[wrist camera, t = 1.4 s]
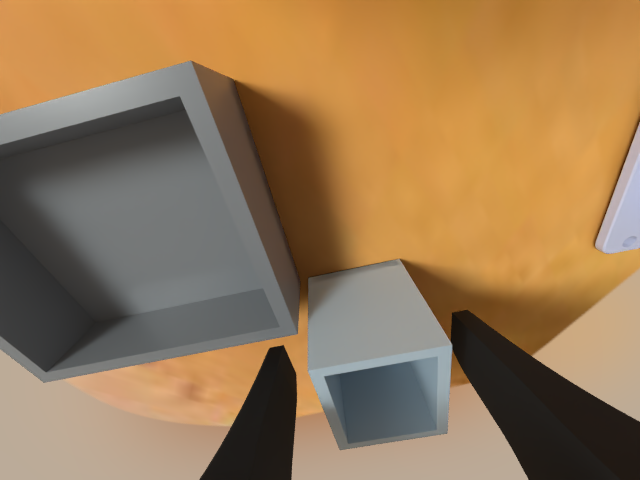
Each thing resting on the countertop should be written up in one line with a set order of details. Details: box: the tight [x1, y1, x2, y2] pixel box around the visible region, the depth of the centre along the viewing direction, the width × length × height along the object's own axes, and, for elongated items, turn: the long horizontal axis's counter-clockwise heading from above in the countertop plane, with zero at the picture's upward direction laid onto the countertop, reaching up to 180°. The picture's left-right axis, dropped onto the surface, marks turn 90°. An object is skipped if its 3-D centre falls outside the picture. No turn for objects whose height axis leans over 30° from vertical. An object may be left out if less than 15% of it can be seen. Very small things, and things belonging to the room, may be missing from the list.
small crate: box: [308, 259, 452, 450], centre depth 10 cm, size 4×5×4 cm
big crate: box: [0, 61, 300, 383], centre depth 8 cm, size 10×8×3 cm
